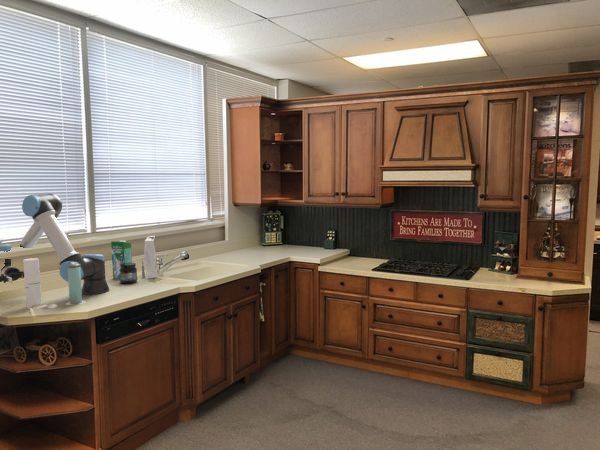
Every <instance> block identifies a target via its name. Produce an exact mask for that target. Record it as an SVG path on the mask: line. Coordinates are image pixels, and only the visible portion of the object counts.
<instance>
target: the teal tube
mask: <svg viewBox="0 0 600 450" xmlns="http://www.w3.org/2000/svg"><path fill="white" fill-rule="evenodd" d="M80 266H81V265H80V264H69V265H67V268H68V283H67V284H68V297H69V302H70V304H79V303H82V300H83V294H82V280H81V272H80ZM79 305H80V304H79Z"/></svg>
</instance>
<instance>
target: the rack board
mask: <svg viewBox="0 0 600 450" xmlns="http://www.w3.org/2000/svg"><path fill="white" fill-rule="evenodd" d="M86 303H87V300H83V299H82V303H79V304H70V301H68V302H66V303H65V305H66V306H78V305H83V304H86ZM57 307H59V305H58V304H56V303H49V304H43V305H42V304H41V305H37V307H36V309H37V310H50V309H54V308H57Z"/></svg>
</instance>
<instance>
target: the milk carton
mask: <svg viewBox="0 0 600 450" xmlns="http://www.w3.org/2000/svg"><path fill="white" fill-rule="evenodd" d="M110 246H111V263H112V266H111V267H112V279H116V280H117V279H118V280H120V271H119V270H120V264H122V263H133V261H132V260H133V257H132V256H133V255H132V243H131V242H127V241H126V240H119V241H117V240H115V241H111V242H110Z"/></svg>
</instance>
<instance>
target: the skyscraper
mask: <svg viewBox="0 0 600 450" xmlns="http://www.w3.org/2000/svg"><path fill="white" fill-rule="evenodd" d="M151 237H153V239H152V238H151ZM155 238H156V236H155V235H150V236H147V237H146V239H144V249H143V250H144V251H143V259H142V265H141V271H142V272H141V276H142V277H141V278H142V279H146V280H149V279H154V278H155V279H156V278H157V277H158V276H157V273H156V270H155V268H156V263H157V262H156V260H157V255H156V254H157V253H156V247H155V243H154V242H155ZM144 264H145V265H144ZM145 268H146V272H145Z"/></svg>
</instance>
